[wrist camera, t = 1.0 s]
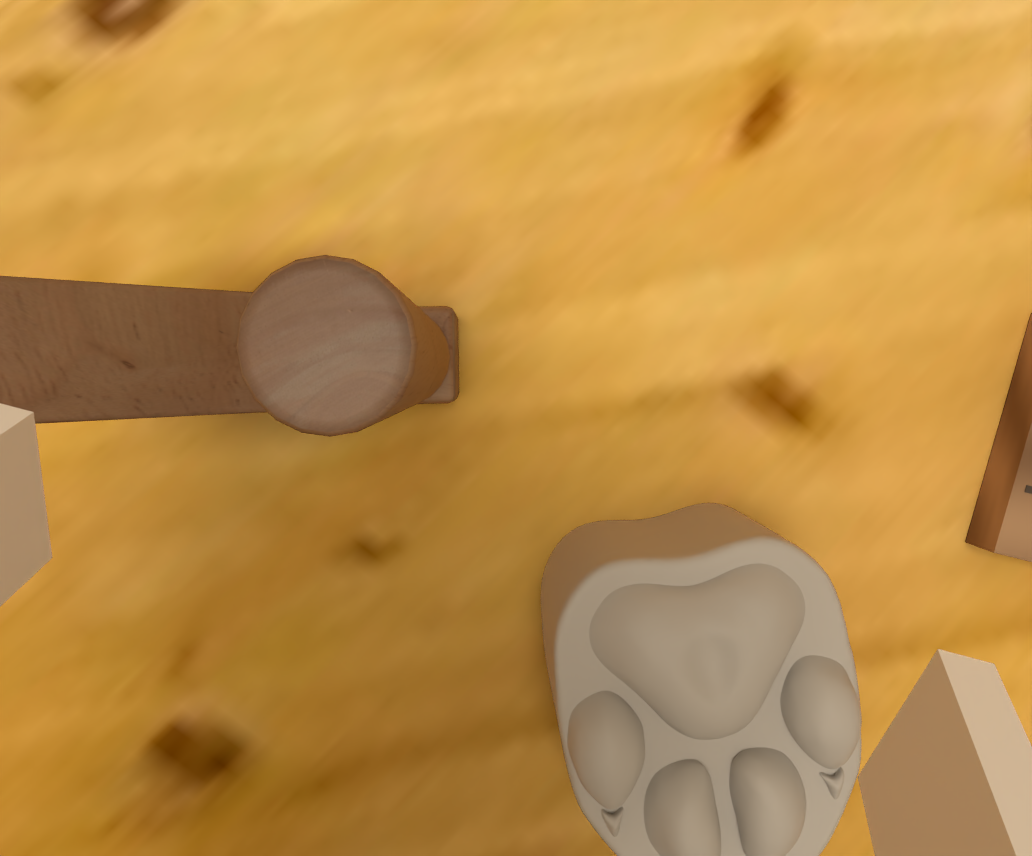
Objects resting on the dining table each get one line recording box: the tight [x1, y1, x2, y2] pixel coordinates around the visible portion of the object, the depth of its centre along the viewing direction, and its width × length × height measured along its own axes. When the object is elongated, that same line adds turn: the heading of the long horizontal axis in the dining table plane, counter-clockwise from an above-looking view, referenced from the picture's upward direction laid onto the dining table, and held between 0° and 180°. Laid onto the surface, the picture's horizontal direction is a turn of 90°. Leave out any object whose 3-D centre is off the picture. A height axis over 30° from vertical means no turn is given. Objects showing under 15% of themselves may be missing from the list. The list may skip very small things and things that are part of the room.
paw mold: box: [541, 503, 861, 856], centre depth 31 cm, size 10×13×9 cm
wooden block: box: [0, 255, 459, 436], centre depth 25 cm, size 4×11×18 cm, turn 91°
